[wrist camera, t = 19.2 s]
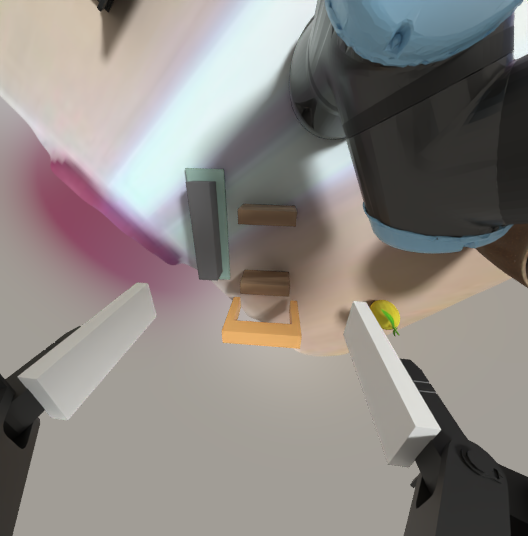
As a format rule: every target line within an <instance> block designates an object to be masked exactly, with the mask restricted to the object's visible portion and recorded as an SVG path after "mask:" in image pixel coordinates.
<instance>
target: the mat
mask: <svg viewBox="0 0 528 536" xmlns="http://www.w3.org/2000/svg"><path fill="white" fill-rule="evenodd" d="M185 169H186V176H187V182H189V181H216V191H217V204H218V217H219V230H220V243H221V256H222V269H223V272H222V274H221V276H220V277H219V279H228V280H230V265H229V247H228V230H227V213H226V196H225V178H224V169H198V168H185Z"/></svg>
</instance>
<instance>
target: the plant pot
mask: <svg viewBox="0 0 528 536" xmlns="http://www.w3.org/2000/svg"><path fill="white" fill-rule="evenodd" d="M475 249H476V250H478V251H479V252H480V253H481V254H482V255H483V256H484V257H485V258H487V259H488V260H489V261H490V262H491V263H493V264H494V265H495V266H497V267H498V268H499V269H500V270H502V271H503V272H505V273H506V274H507V275H509V276H511V277H512V278H514V279H515V280H517V281H518V282H520V283H521V284H523V285H524V286H526V287H527V288H528V224H513V226H512V227H511V228H510V229H509V230H508V232H507V233H506V234H505V235H504V236H502V237H501V238H499V239H497V240H496V241H494V242H492V243H490V244H487V245H484V246H481V247H478V248H475Z"/></svg>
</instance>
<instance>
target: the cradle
mask: <svg viewBox="0 0 528 536" xmlns="http://www.w3.org/2000/svg"><path fill="white" fill-rule="evenodd" d="M296 218H297V210H296V208H295V206H287V205H261V204H243V205H242V206H241V207H240V208H239V209H238V224H248V225H270V226H293V227H296ZM289 290H290V281H289V272H277V271H260V270H245V271H244V274H243V276H242V279H241V282H240V293H241V294H257V295H273V296H289Z"/></svg>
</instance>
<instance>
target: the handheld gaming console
mask: <svg viewBox="0 0 528 536" xmlns="http://www.w3.org/2000/svg"><path fill="white" fill-rule="evenodd" d="M98 1H99V4H98V7H97V8H98V10H99V11H100V12H101V11H102V10H103V9H105V10H106V11H107V12H109V10H110V8H111V6H112V4H113V1H114V0H98Z"/></svg>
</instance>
